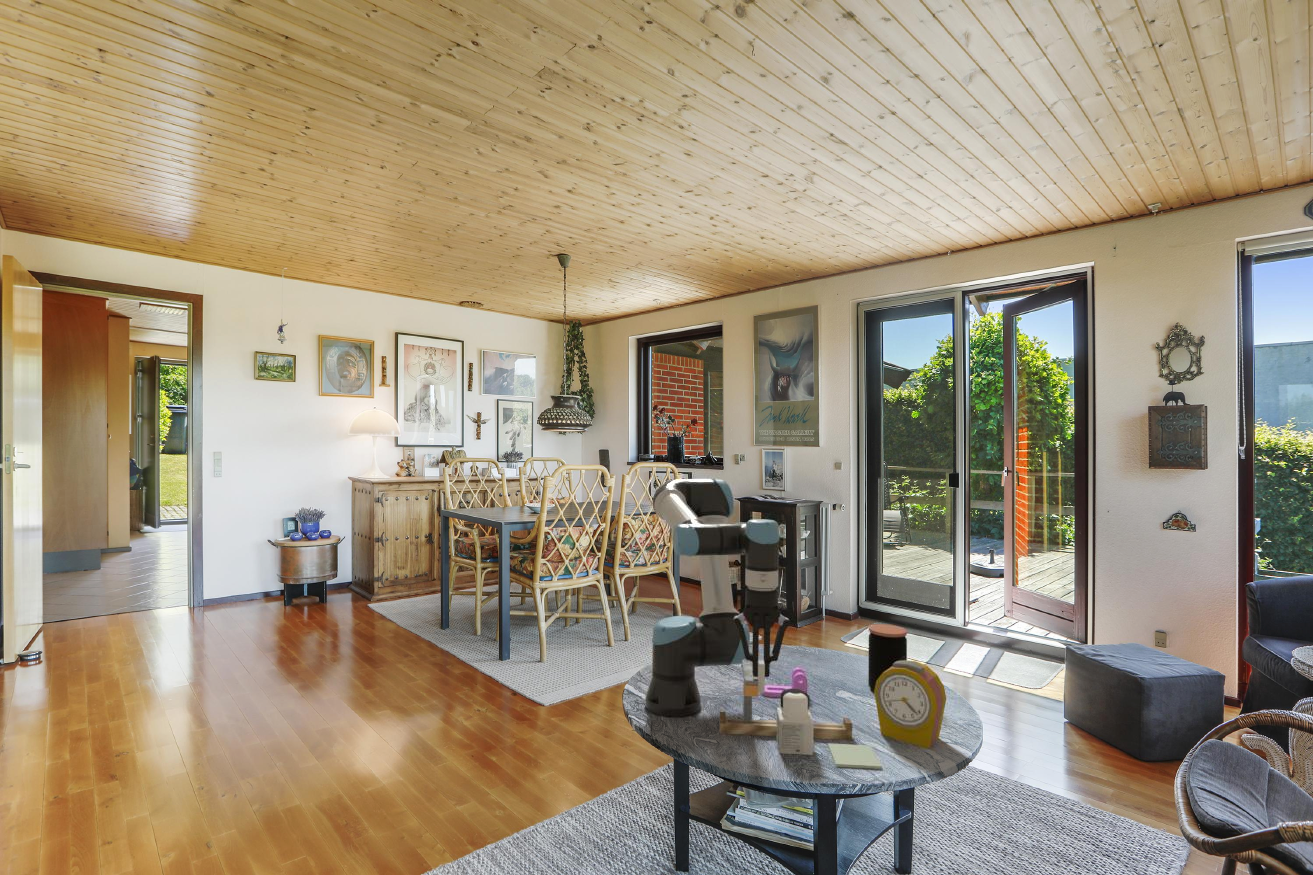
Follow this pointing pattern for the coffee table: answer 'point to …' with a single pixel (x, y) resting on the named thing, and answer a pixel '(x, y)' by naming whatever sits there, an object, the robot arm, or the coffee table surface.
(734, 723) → the rail
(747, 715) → the grey l-shaped beam
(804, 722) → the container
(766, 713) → the coffee table surface
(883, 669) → the coffee jar
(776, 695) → the bracket
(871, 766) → the pad
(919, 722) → the alarm clock
